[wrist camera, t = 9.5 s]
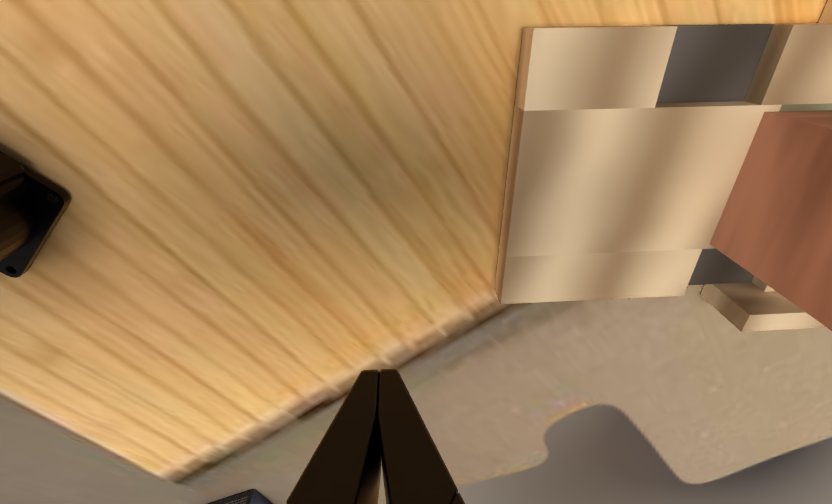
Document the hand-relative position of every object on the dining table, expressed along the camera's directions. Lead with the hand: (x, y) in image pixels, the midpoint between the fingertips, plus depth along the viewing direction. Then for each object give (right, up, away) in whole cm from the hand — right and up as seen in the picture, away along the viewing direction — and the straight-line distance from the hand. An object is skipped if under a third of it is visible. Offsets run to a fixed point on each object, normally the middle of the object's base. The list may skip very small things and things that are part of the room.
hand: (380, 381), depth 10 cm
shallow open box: (+18, +7, +12) cm, 23 cm away
